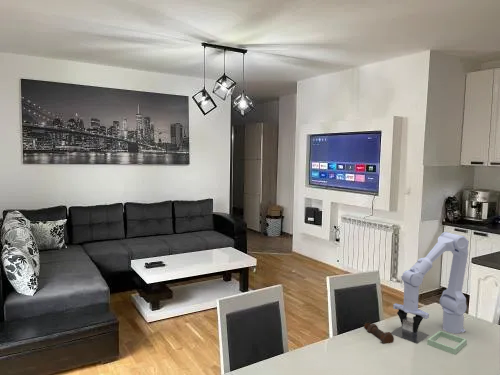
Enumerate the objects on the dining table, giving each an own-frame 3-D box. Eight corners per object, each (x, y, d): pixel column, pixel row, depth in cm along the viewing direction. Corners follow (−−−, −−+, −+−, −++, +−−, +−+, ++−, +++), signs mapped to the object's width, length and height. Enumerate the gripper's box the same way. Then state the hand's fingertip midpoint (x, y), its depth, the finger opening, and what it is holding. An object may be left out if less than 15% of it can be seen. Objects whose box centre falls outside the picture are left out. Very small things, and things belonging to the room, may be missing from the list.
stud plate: (402, 327, 165) (402, 320, 165) (429, 337, 156) (430, 329, 156) (389, 335, 157) (389, 328, 157) (417, 346, 148) (417, 338, 148)
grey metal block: (406, 330, 160) (407, 316, 159) (417, 334, 157) (417, 320, 156) (402, 333, 157) (402, 319, 157) (412, 337, 154) (412, 322, 153)
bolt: (368, 333, 163) (390, 348, 149) (359, 329, 162) (381, 344, 148) (373, 321, 164) (396, 335, 150) (365, 317, 163) (387, 331, 148)
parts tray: (439, 337, 156) (439, 330, 156) (466, 346, 149) (466, 339, 148) (427, 346, 148) (427, 339, 148) (454, 357, 140) (455, 349, 140)
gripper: (390, 296, 159) (389, 326, 159) (424, 306, 148) (422, 338, 149) (398, 292, 163) (396, 322, 164) (431, 302, 152) (430, 333, 153)
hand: (409, 329), depth 157 cm, fingers closed on grey metal block, 4 cm apart
